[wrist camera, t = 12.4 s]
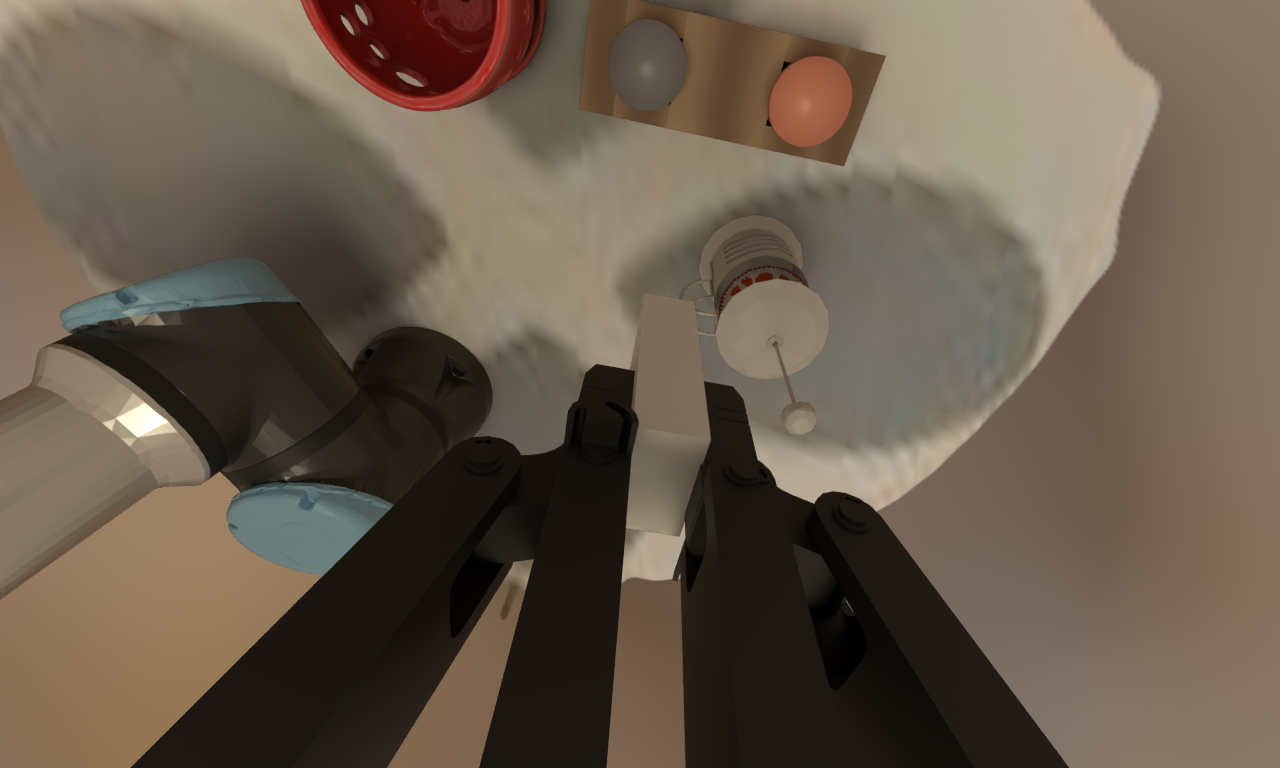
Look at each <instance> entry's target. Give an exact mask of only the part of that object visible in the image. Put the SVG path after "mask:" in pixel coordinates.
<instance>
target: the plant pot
mask: <svg viewBox="0 0 1280 768" xmlns="http://www.w3.org/2000/svg"><path fill="white" fill-rule="evenodd" d="M301 3H302V5H303V8H304V10H305V12H306V15H307V17H308V19H309V20H310V22H311V24H312V26H313V28H314V30H315V31H316V33H317V34H318V36H319V38H320V39H321V41H322V42H323V44H324V45H325V46H326V48H327V49H328V51H329V52H330V54H331V55H332V56H333V57H334V59H335V60H336V61H337V62H338V63H339V64H340V66H341V67H342V68H343V69H344V70H345V71H346V72H347V73H348V74H349V75H350V76H351V77H352V78H354V79H355V80H356V81H357V82H358V83H360V84H361V85H362V86H364V87H365V88H366V89H367V90H369V91H370V92H372V93H373V94H375V95H376V96H378V97H380V98H382V99H384V100H386V101H388V102H390V103H392V104H395V105H397V106H400V107H403V108H406V109H410V110H416V111H440V110H447V109H452V108H457V107H461V106H464V105H466V104H469V103H472V102H474V101H477V100H479V99H481V98H483V97H485V96H487V95H488V94H490V93H492V92H493V91H495V90H496V89H498V88H499V87H500V86H502V85H503V84H504V83H505V82H506V81H509V80H510V79H512V78H514V77H515V76H516V75H518V74H519V73H520V72H521V71H522V70H523V69H524V68H525V67H526V66H527V64H528V63H529V62H530V60H531V59H532V57H533V55H534V54H535V52H536V50H537V47H538V45H539V43H540V40H541V36H542V32H543V28H544V22H545V12H546V0H301ZM355 4H357V5H359V6H360V7H361V8H362V10H363V11H364V13H365V15H366V17H367V20H368V26H367V25H365V24H364V23H363V22H362V21H361V20H360V19H359V17H358V15H357V13H356V10H355ZM341 15H342V16H343V17H345V18H346V19H347V20H348V21H349V23H350V25H351V26H352V28H353V31H354V35H352V34H351V33H350V32H349V31H348V30H347V28H346V27H345V25H344V24H343V22H342V19H341ZM369 44H371V45H373V46H375V47H376V48H377V49H378V50H379V51H380V52H381V54H382V55H383V57H384V59H382V58H381V57H379V56H378V55H377V54H376V53H375V52H374V50H373V49H372V48H371V46H370V45H369ZM396 72H400V73H404V74H407V75H409V76H411V77H412V78H414V79H416V80H417V81H419V82H420V83H421V84H422V85H423V86H424V87H419V86H414V85H411V84H409V83H407V82H405V81H404V80H402V79H401V78H400V77H399V76H398V75H397V74H396Z"/></svg>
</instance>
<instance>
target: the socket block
mask: <svg viewBox="0 0 1280 768" xmlns="http://www.w3.org/2000/svg"><path fill="white" fill-rule="evenodd" d="M643 19H652V20H657V21H660V22H662V23H664V24H666V25H667V26H669V27H670V28H671V29H672V30H673V31H674V32H675V33H676V34H677V36H678V37H679V39H680V41H683V43H682V45H683V48H684V51H685V56H686V74H685V79H684V82H683V85H682V87H681V89H680V91H679V93H678V94H677V95H676V97H675V98H674V99H673V100H672V101H671V102H670V103H669V104H667V105H666V106H664V107H662V108H660V109H657V110H654V111H640V110H637V109H634V108H632V107H630V106H629V105H627V104H626V103H625V102H623V101H622V100H621V99H620V97H619V96H618V95H617V93H616V92H615V90H614V88H613V86H612V83H611V80H610V76H609V66H608V64H609V55H610V51H611V48H612V45H613V43H614V41H615V39H616V37H617V36H618V35H619V33H620V32H621V31H622V30H623V29H624V28H625V27H627V26H628V25H629V24H631V23H633V22H635V21H638V20H643ZM811 56H821V57H827V58H830V59H832V60H834V61H836V62H838V63H839V64H840V65H841V66H842V67H843V68H844V69H845V71H846V72H847V74H848V76H849V78H850V81H851V86H852V102H851V107H850V110H849V113H848V115H847V118H846V120H845V121H844V123H843V124H842V126H841V127H840V129H839V130H838V131H837V132H836V133H835V134H834V135H833V136H832V137H830V138H829V139H827V140H826V141H824V142H822V143H820V144H818V145H814V146H809V147H799V146H794V145H791V144H789V143H787V142H786V141H784V140H783V139H782V138H781V137H780V136H778V135H777V133H776V132H775V131H774V129H773V128H772V126H771V123H770V121H769V120H767V119H768V99H769V94H770V91H771V88H772V86H773V84H774V82H775V81H776V79H777V77H778V76H779V75H780V73H781V70H782V67H783V63H784V64H788V65H790V64H792V63H793V62H795V61H797V60H799V59H802V58H805V57H811ZM885 57H886V56H884V55H879V54H875V53H870V52H866V51H861V50H857V49H853V48H848V47H844V46H839V45H835V44H830V43H826V42H822V41H817V40H813V39H808V38H804V37H799V36H795V35H790V34H786V33H782V32H777V31H773V30H768V29H764V28H759V27H755V26H750V25H746V24H742V23H737V22H733V21H728V20H724V19H719V18H715V17H710V16H706V15H702V14H697V13H693V12H688V11H684V10H679V9H675V8H671V7H666V6H662V5H657V4H653V3H648V2H644V1H639V0H590V6H589V16H588V26H587V35H586V45H585V54H584V64H583V74H582V83H581V93H580V102H579V109H580V110H585V111H590V112H594V113H599V114H604V115H608V116H613V117H618V118H622V119H627V120H631V121H636V122H641V123H645V124H650V125H655V126H659V127H664V128H669V129H673V130H678V131H683V132H687V133H692V134H696V135H701V136H706V137H710V138H715V139H720V140H724V141H729V142H734V143H738V144H743V145H747V146H752V147H757V148H761V149H766V150H771V151H775V152H780V153H785V154H789V155H794V156H799V157H803V158H808V159H812V160H817V161H822V162H826V163H831V164H836V165H840V166H844V165H845V162H846V160H847V157H848V154H849V152H850V149H851V147H852V144H853V141H854V139H855V136H856V133H857V131H858V128H859V126H860V123H861V120H862V118H863V115H864V112H865V110H866V107H867V104H868V102H869V99H870V97H871V94H872V91H873V89H874V86H875V83H876V81H877V78H878V75H879V73H880V70H881V68H882V65H883V62H884V60H885Z"/></svg>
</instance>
